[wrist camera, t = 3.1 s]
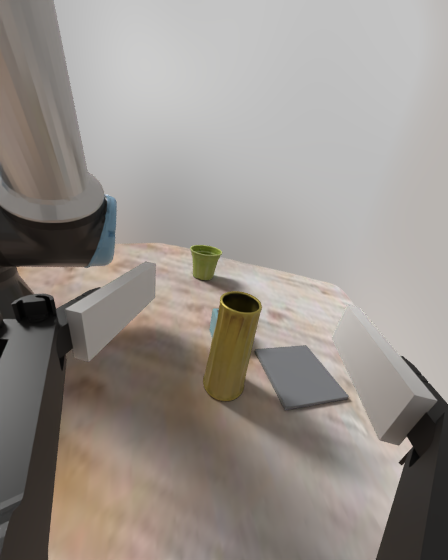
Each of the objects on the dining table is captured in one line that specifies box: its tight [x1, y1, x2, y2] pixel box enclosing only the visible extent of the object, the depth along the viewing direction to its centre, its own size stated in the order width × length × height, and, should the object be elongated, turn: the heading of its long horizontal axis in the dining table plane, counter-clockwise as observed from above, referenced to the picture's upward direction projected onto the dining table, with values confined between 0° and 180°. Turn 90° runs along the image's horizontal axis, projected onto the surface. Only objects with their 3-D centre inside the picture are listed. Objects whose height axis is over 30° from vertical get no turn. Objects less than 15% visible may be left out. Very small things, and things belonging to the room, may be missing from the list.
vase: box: [203, 291, 262, 401], centre depth 28 cm, size 6×6×14 cm
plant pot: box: [190, 245, 222, 280], centre depth 63 cm, size 9×9×9 cm
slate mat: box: [255, 345, 349, 410], centre depth 35 cm, size 11×11×1 cm
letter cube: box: [210, 309, 219, 338], centre depth 40 cm, size 5×5×5 cm
